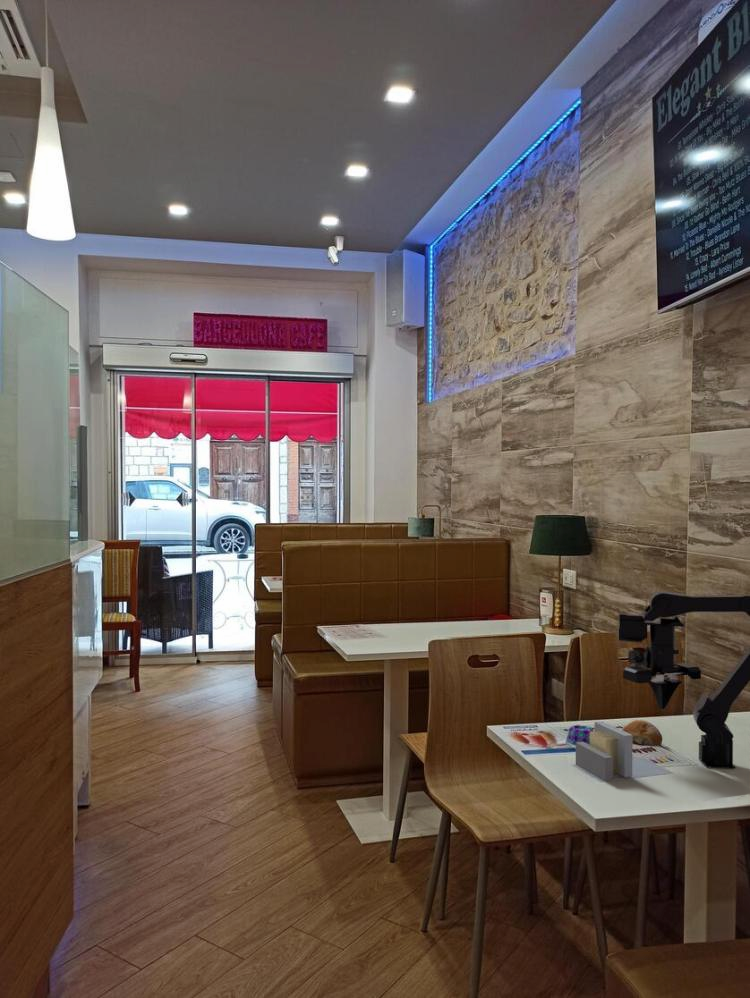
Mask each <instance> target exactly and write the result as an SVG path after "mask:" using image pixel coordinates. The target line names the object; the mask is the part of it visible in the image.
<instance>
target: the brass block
mask: <svg viewBox="0 0 750 998" xmlns="http://www.w3.org/2000/svg"><path fill="white" fill-rule="evenodd" d="M590 746H592V747H594V748H596V749H598V750H600V751H602V752H604V753H606V754H608V755H610V756H612V757H613V775H617V747H618V738H616V737H613V736H611V735H609V734H607V733H605V732H603V731H595V730H593V732H590Z"/></svg>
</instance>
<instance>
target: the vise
mask: <svg viewBox="0 0 750 998" xmlns="http://www.w3.org/2000/svg"><path fill="white" fill-rule="evenodd" d="M571 766H573V767H575V768H576V769H577V770H579V771H581V772H583V773H585V774H586V775H588V776H590V777H591V778H593V779H595V780H596V781H598V782H600V783H606V782H613V781H620V780H630V779H636V778H637V779H638V778H645V777H653V776H661V775H662V776H663V775H669V774H674V772H673V771H671V770H669V769H666V768H665V767H663V766H661V765H659V764H656V763H654V762H652V761H651V760H648V759H646V758H644V757H642V756H639V757H638V756H637V757H632V777H625V778H624V777H623V776H621V775H619V774H617V775H613V757H612V756H610V755H608V754H606V753H604V752H602V751H600V750H598V749H596V748H594V747H592V746H590V745H589V744H587V743H585V742H576V745H575V764H571Z"/></svg>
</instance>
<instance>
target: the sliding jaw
mask: <svg viewBox="0 0 750 998" xmlns="http://www.w3.org/2000/svg"><path fill="white" fill-rule="evenodd" d="M622 730H623V729H620V728H617V727H616V726H614V725H611V724H609V723H607V722H605V721H602V720H601V721H600V720H599V721H594V731H603V732H605V733H607V734H609V735H611V736H613V737H616V738H618V747H617V774H619V775H621V776H623V777H624V778H625V777H632V758H633V744H634V743H633V735H631V734H629V733H627V732H625V731H622Z"/></svg>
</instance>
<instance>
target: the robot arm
mask: <svg viewBox="0 0 750 998" xmlns="http://www.w3.org/2000/svg"><path fill="white" fill-rule="evenodd" d="M648 603H649V604H648V605H647V607H646V608H645V609H644V610H643V611H642V613H641V614H629V613H624V612H623V613H622V612H621V613H618V625H617V642H624V643H625V642H626V643H639V644H642V643H643V641H645V640H646V639H648V626H649V646H647V645H646V646H645V651H644V652H642V653H641V652H639V650H629V651H628V654H627V658H628V663H629V664H630V665H634V666H625V668H624V669H623V671H622V679H624V680H626V681H628V682H629V681H630V682H633V683H635V684H645V683H646V684H648V685H649V686H650V688H651V690H652V692H653V694H654V697H655V700H656V702H657V707H658V708H659V709H661V710H665V709H666V707H667V706H668V704H669V702H670V700H671V697H673V694H674V693H675V691H676V690H677V689H678V686H679V685H682V684H683V680H679V677H678V676H680V677H681V676H687V677H688V678H689V679H690V680H701V679H702V670H701V668H700V667H699V666H697V665H693V664H690V663H686V662H682V663H676V655H679V653H680V650H679V649H676V627H680V628H683V627H684V626H685V624H684V622H682V621H681V620H680V619H679V617H678V616H680V615H685V614H689V613H728V612H729V613H735V612H736V613H741V612H743V613H745V614H746V615H747V616H748V617H750V594H745V593H743V594H726V595H725V594H721V595H719V594H718V595H716V594H715V595H711V594H710V595H709V594H707V595H702V594H701V595H689V594H683V593H678V592H672V591H666V590H658V591H655V592H653V594H652V595H650V598H649V602H648ZM669 617H670V618H669ZM671 617H672V618H671ZM657 619H659V620H658V621H656V620H657ZM749 682H750V646H749V647H748V649H747V650H746V651H745V653H743V655H742V656H741V658H739V660H738V661H737V663H736V664H735V665H734V667H733V668H732V670H731V671H730V672H729V673H728V674H727V676H726V678H724V680H723V682H721V683H720V686H719V687H718V688H717V689H716V691H714V692H712V693H711V694H710V695H707V693H706V692H702V694H701V696H700V698H699V700H697V702H695V703H694V704H693V707H694V709H693V711H692V717H693V720H694V721H695V723H696V725H697V727H698V729H699V730H700V731H701V732H703V733H704V734H701V735H700V738H701V739H700V740H699V742H698V760H699V761H700V762H701V763H702V764H703V765H704V766H705V767H706V768H714V769H715V768H716V769H736V768H737V767H736V765H735V764H734V758H733V757H734V740H733V739H734V734H733V732H732V731H731V729H730V728H729V726H728V725H727V724H726V721H727V719H728V717H729V713H730V711H731V707H732V705H733V703H734V702H735V701H736V699H737V698H738V697H739V696H740V694H741V693H742V691H743V690H744V689H745V688H746V686H747V685H748V684H749Z"/></svg>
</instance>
